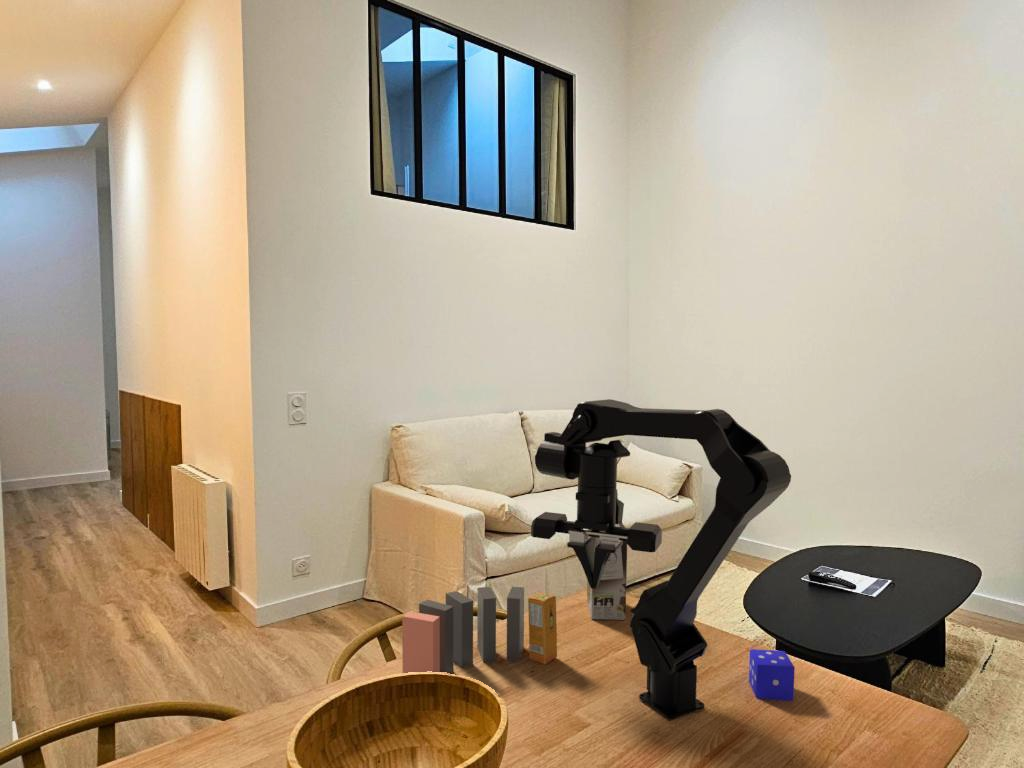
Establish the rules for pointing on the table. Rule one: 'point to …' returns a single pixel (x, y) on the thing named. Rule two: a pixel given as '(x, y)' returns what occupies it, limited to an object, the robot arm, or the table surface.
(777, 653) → the die
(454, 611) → the domino
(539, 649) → the supplement box
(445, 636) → the domino
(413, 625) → the domino
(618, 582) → the coffee box
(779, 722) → the table surface
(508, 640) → the domino
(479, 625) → the domino
